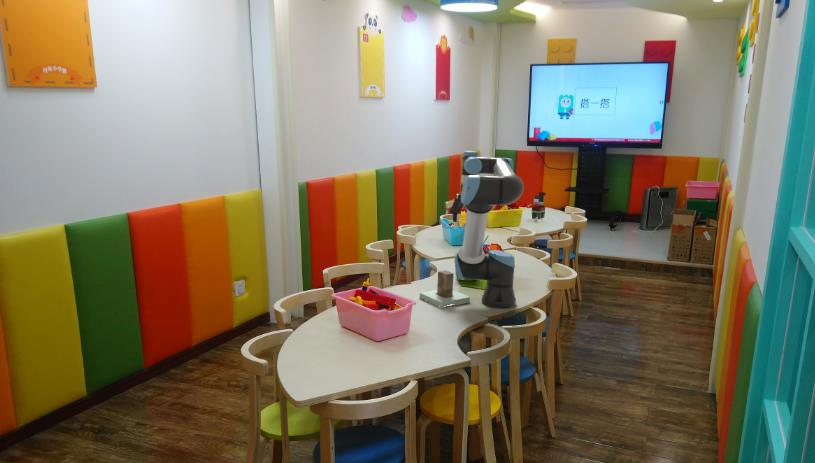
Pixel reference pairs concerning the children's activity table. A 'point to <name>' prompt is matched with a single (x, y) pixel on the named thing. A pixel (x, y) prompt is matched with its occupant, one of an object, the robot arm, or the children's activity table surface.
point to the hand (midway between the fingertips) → (466, 227)
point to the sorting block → (441, 301)
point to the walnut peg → (445, 284)
